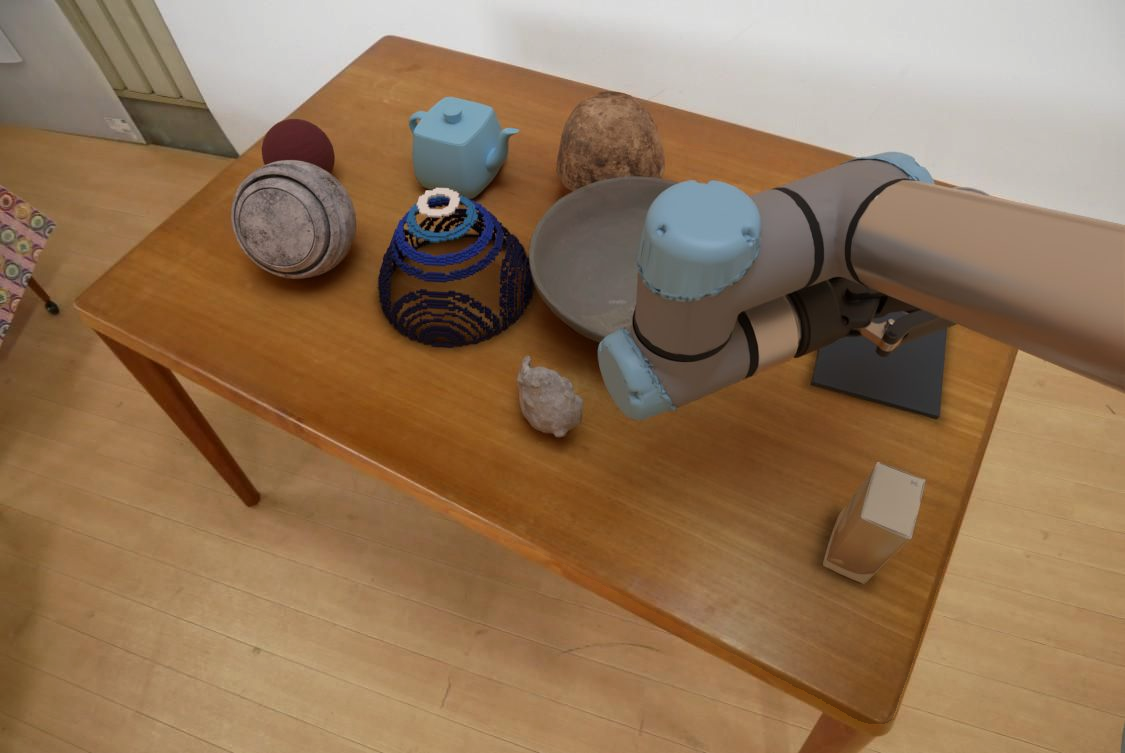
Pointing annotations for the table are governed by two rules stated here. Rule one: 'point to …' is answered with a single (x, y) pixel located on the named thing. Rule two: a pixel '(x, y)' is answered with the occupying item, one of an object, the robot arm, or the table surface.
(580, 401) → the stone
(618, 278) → the bowl
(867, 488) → the cosmetic box
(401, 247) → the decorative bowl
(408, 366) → the table surface
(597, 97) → the brown rounded lump
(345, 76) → the table surface
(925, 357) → the slate mat
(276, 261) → the decorative orb
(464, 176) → the teapot
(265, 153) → the decorative ball
